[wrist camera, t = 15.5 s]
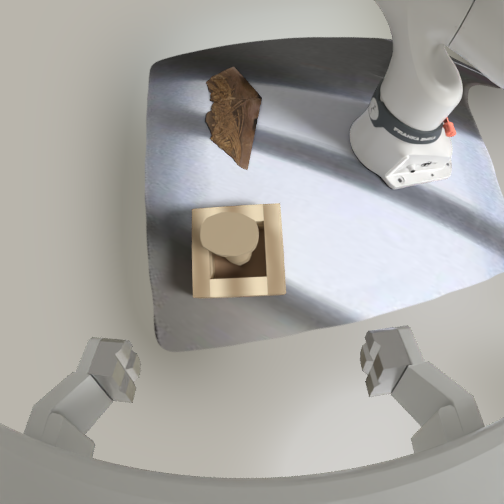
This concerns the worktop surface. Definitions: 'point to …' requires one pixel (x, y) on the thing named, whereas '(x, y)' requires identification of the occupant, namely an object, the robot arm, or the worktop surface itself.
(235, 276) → the socket block
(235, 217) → the handle
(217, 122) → the wooden fragment
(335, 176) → the worktop surface
